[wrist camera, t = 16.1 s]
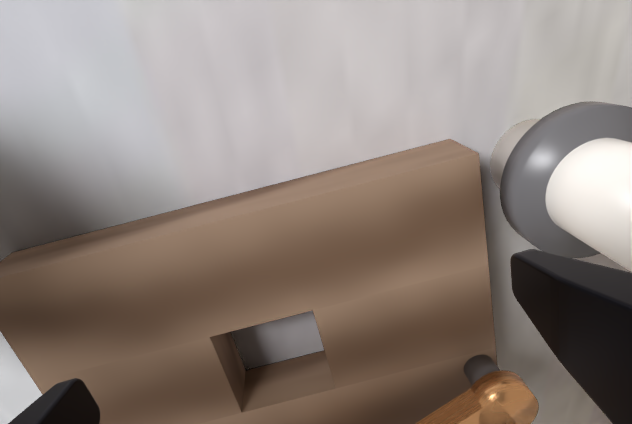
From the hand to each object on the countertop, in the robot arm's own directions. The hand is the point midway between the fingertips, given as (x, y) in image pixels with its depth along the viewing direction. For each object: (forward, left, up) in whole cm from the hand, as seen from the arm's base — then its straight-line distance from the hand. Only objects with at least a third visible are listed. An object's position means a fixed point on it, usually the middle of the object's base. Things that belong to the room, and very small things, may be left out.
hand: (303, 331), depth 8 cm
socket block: (+9, -3, -12) cm, 15 cm away
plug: (+3, +12, -12) cm, 17 cm away
